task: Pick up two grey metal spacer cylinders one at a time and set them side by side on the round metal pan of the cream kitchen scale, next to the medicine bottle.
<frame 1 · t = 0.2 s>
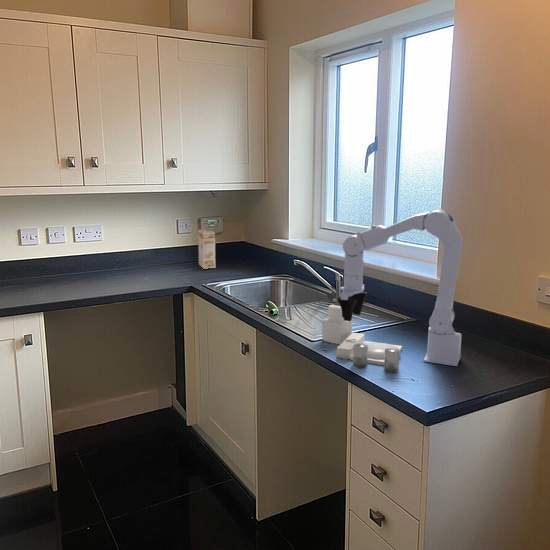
hand: (352, 317, 174), 10 cm above the worktop, tool pointing down, fingers open, 7 cm apart
spacer b: (360, 365, 161), on the worktop
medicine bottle: (337, 340, 183), on the worktop
coffeecake box: (207, 267, 300), on the worktop
scale: (370, 353, 171), on the worktop
spacer a: (391, 370, 158), on the worktop
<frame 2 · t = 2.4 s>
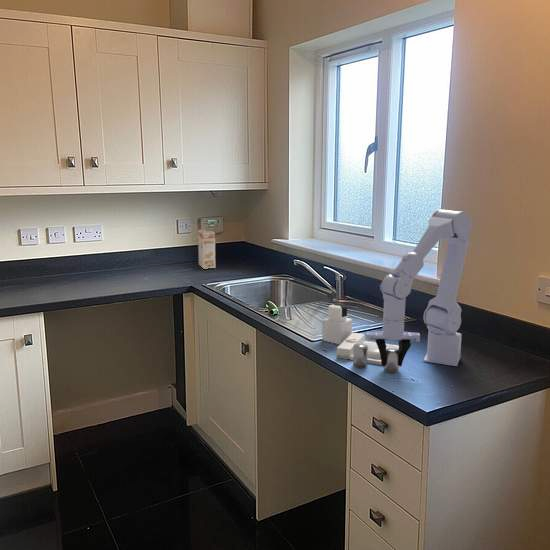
hand: (391, 365, 157), 2 cm above the worktop, tool pointing down, fingers closed on spacer a, 4 cm apart
spacer a: (391, 370, 158), on the worktop, touching gripper
everything else where it was.
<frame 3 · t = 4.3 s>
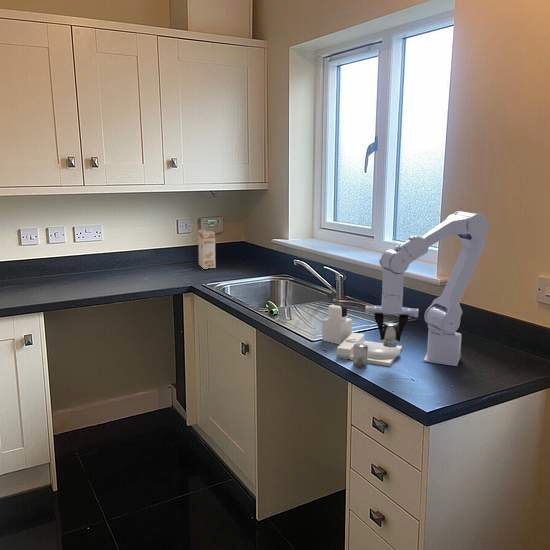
hand: (390, 339, 159), 8 cm above the worktop, tool pointing down, fingers closed on spacer a, 4 cm apart
spacer a: (390, 345, 160), point 6 cm above the worktop, touching gripper
everything else where it was.
when the fingers open (5 cm above the worktop, at t = 6.4 s): spacer a drops 1 cm, resting on scale.
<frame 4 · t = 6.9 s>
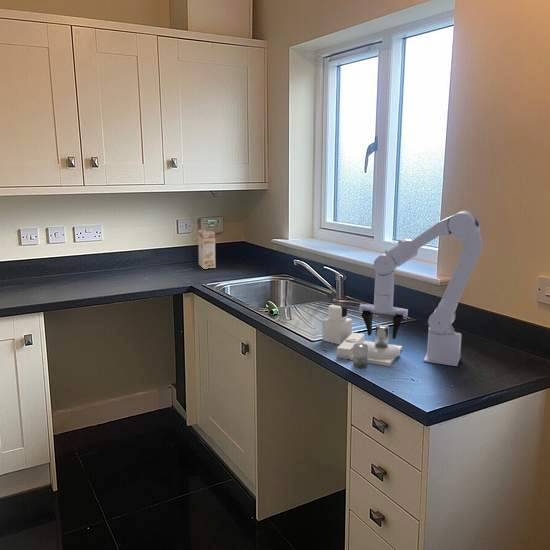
hand: (382, 336, 173), 5 cm above the worktop, tool pointing down, fingers open, 7 cm apart
spacer a: (381, 345, 173), point 2 cm above the worktop, touching scale
everything else where it was.
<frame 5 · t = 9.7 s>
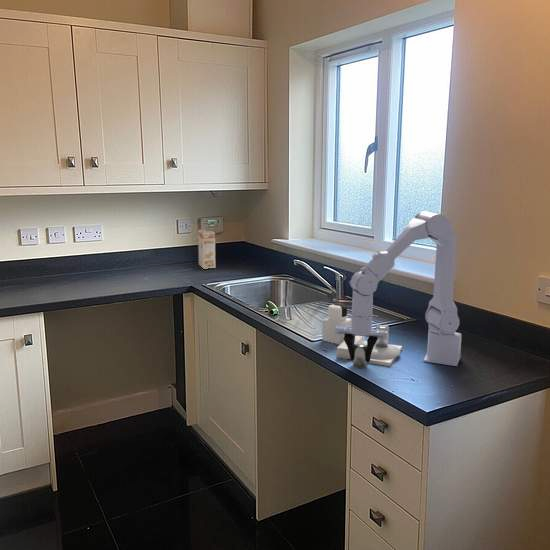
hand: (360, 360, 161), 2 cm above the worktop, tool pointing down, fingers closed on spacer b, 4 cm apart
spacer b: (360, 365, 161), on the worktop, touching gripper
everything else where it was.
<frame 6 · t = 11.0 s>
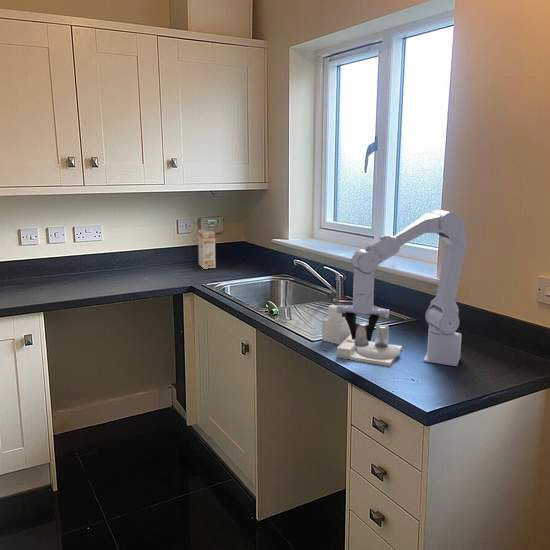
hand: (361, 339, 160), 8 cm above the worktop, tool pointing down, fingers closed on spacer b, 4 cm apart
spacer b: (361, 344, 160), point 6 cm above the worktop, touching gripper
everything else where it was.
when the fingers open (5 cm above the worktop, at t = 12.7 s): spacer b drops 1 cm, resting on scale.
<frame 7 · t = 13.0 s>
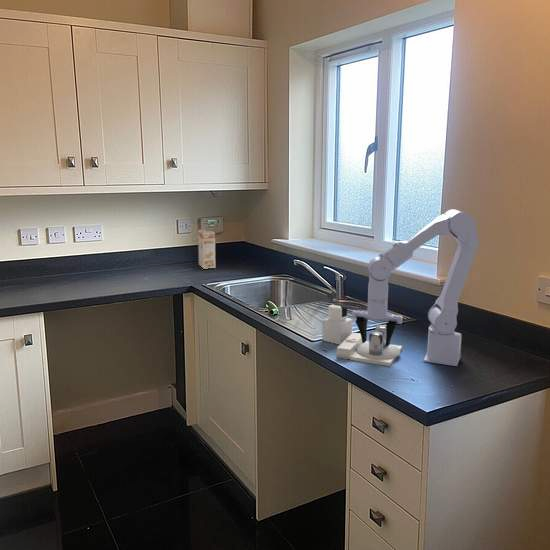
hand: (375, 343, 166), 5 cm above the worktop, tool pointing down, fingers open, 6 cm apart
spacer b: (375, 353, 166), point 2 cm above the worktop, touching scale
everything else where it was.
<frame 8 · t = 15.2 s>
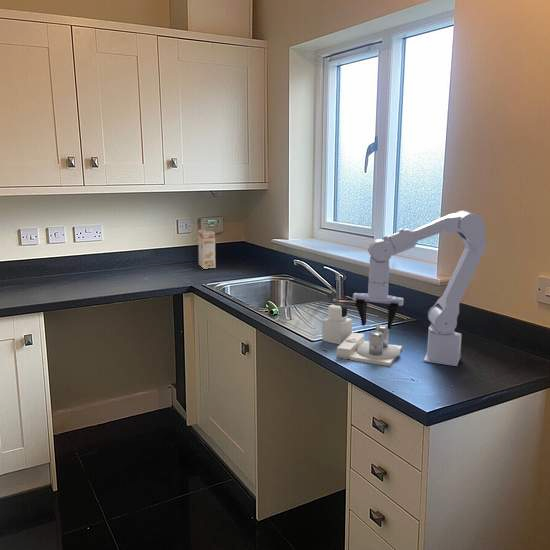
hand: (376, 326, 165), 10 cm above the worktop, tool pointing down, fingers open, 7 cm apart
nothing on the worktop moved.
at the end: spacer a inside the target area on the scale (4.0 cm from its centre), point 1.6 cm above the scale's base; spacer b inside the target area on the scale (3.5 cm from its centre), point 1.6 cm above the scale's base; spacer b tilted 0° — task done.
